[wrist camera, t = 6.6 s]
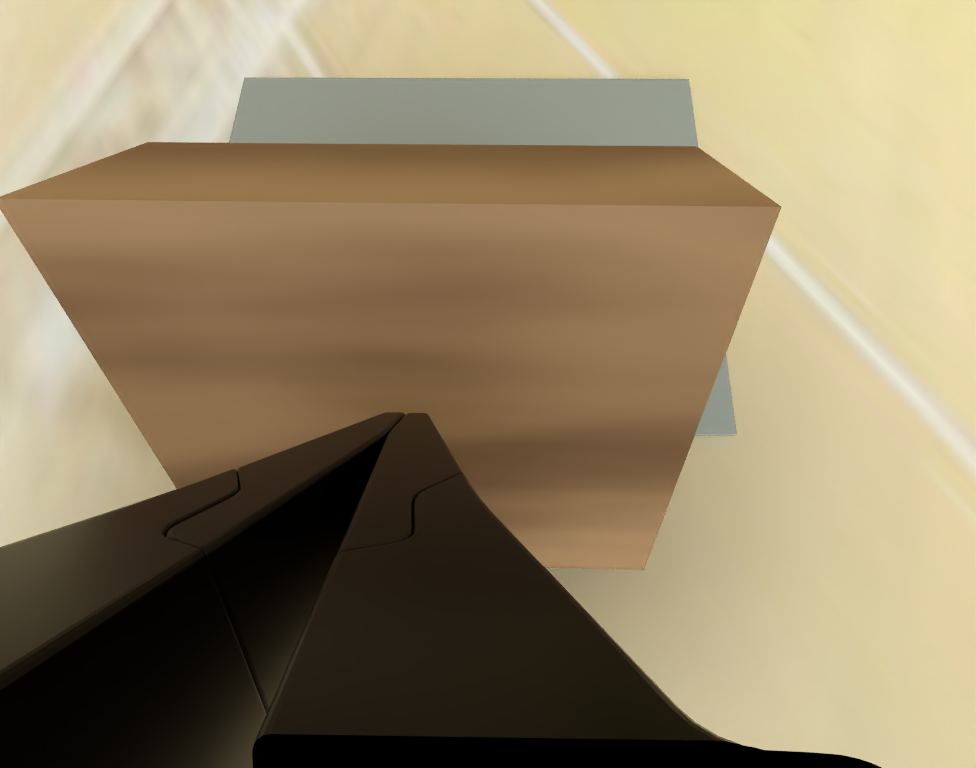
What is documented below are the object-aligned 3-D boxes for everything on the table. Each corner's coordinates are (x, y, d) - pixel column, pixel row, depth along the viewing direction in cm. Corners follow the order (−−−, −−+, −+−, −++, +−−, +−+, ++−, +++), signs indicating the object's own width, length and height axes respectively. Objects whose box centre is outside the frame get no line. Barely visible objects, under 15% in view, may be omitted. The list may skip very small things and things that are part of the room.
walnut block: (643, 569, 13) (781, 206, 7) (220, 558, 14) (-7, 198, 7) (615, 455, 17) (691, 142, 10) (278, 447, 17) (157, 138, 11)
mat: (732, 435, 16) (736, 434, 16) (169, 424, 17) (163, 422, 17) (686, 85, 21) (688, 79, 21) (247, 83, 22) (244, 77, 21)
